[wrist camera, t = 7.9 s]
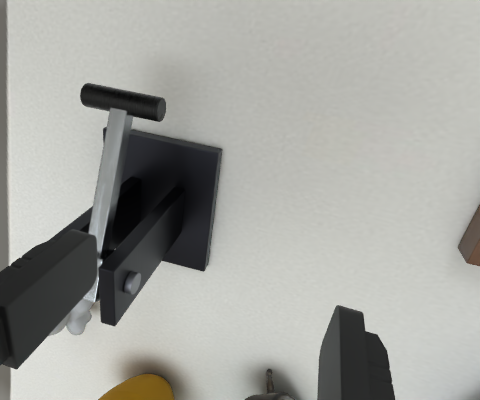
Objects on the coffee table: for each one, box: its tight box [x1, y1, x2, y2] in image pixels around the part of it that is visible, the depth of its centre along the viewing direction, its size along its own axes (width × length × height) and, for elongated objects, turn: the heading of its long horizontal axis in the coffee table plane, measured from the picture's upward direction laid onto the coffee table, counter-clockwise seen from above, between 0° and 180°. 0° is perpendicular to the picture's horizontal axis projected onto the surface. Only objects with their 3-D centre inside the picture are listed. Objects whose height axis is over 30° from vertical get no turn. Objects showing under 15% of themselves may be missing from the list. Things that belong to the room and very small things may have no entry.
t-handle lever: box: [80, 83, 166, 303], centre depth 23 cm, size 13×5×2 cm, turn 172°
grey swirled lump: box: [48, 299, 94, 336], centre depth 37 cm, size 5×7×8 cm
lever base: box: [49, 127, 222, 326], centre depth 27 cm, size 12×10×13 cm
